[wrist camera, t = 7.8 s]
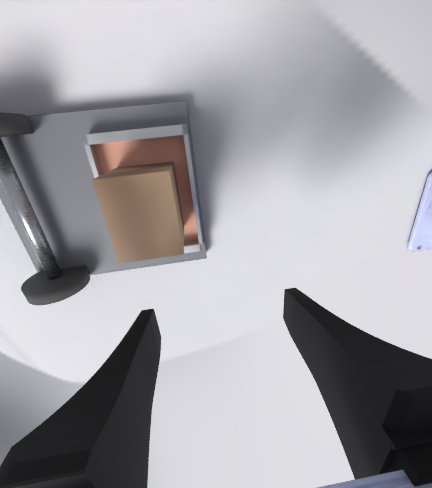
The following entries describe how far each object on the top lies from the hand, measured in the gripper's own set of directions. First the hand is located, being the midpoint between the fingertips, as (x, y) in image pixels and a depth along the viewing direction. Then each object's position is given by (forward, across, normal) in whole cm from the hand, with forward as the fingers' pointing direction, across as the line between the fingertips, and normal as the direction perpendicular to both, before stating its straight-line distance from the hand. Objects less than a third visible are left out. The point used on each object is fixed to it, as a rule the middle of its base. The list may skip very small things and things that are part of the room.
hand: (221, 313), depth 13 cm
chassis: (+9, +7, -5) cm, 13 cm away
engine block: (+8, +4, -5) cm, 10 cm away
